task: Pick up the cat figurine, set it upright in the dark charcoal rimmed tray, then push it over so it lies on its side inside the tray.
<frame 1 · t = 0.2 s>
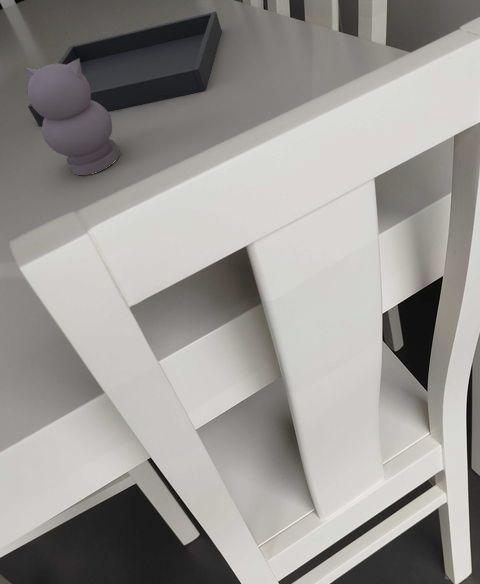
cat figurine: (95, 163, 74), on the table
tray: (135, 76, 91), on the table
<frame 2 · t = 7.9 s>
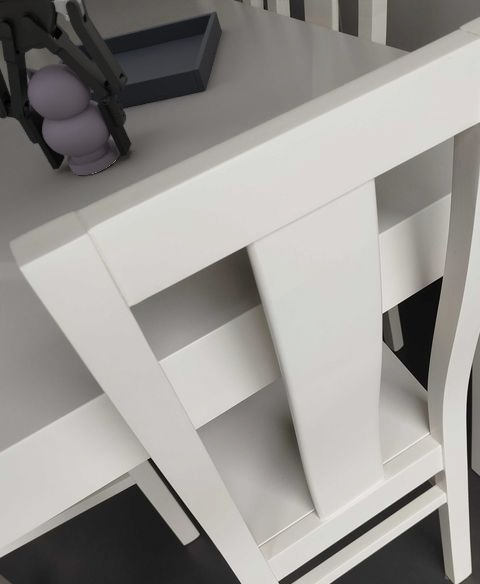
hand: (92, 156, 74), 1 cm above the table, tool pointing down, fingers closed on cat figurine, 8 cm apart
cat figurine: (95, 163, 74), on the table, touching gripper
when the fingers open (1 cm above the table, at t = 15.8 s): cat figurine stays where it is, resting on tray.
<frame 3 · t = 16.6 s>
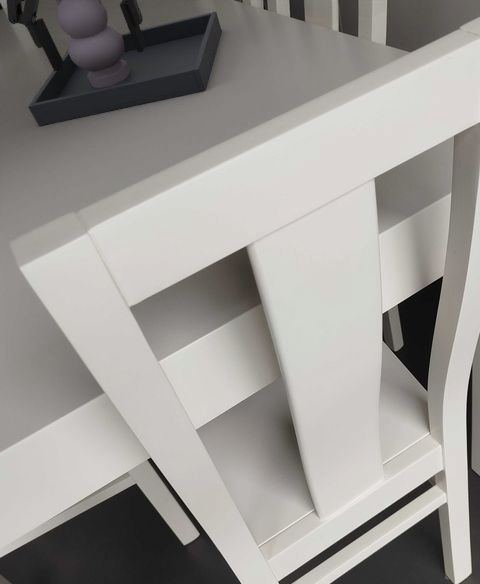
hand: (100, 58, 89), 4 cm above the table, tool pointing down, fingers open, 13 cm apart
cat figurine: (110, 79, 92), resting on tray
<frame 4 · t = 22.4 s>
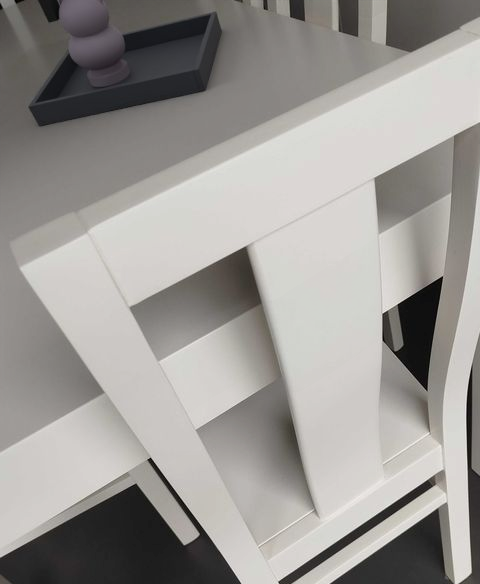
hand: (56, 18, 85), 10 cm above the table, tool pointing down, fingers closed
cat figurine: (110, 78, 91), resting on tray, touching gripper
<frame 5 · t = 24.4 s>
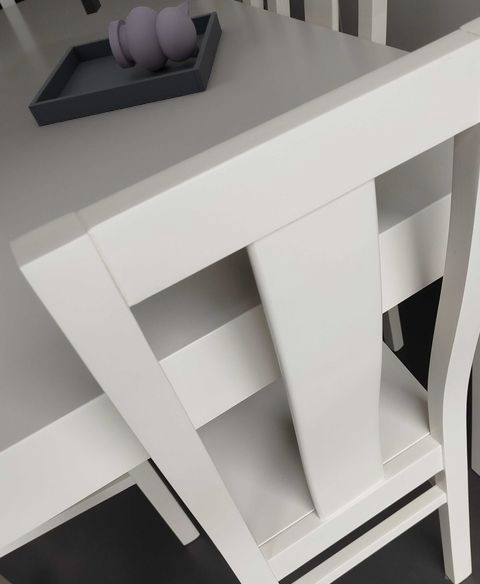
hand: (94, 10, 84), 10 cm above the table, tool pointing down, fingers closed
cat figurine: (117, 44, 88), point 5 cm above the table, touching tray
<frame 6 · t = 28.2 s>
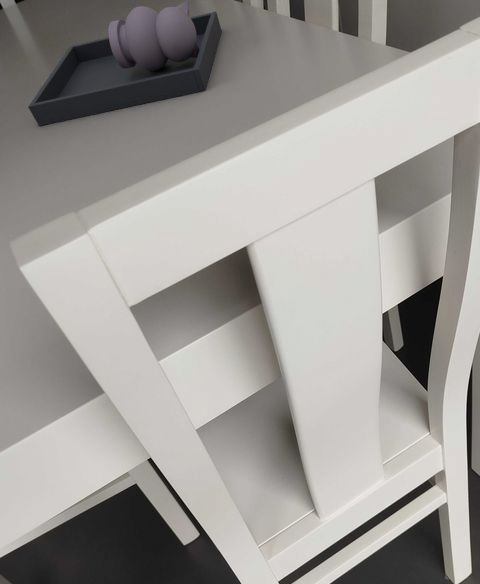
nothing on the table moved.
at the end: cat figurine tilted 92°; cat figurine inside the target area on the tray (0.7 cm from its centre), point 4.9 cm above the tray's base; the gripper is holding nothing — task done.
